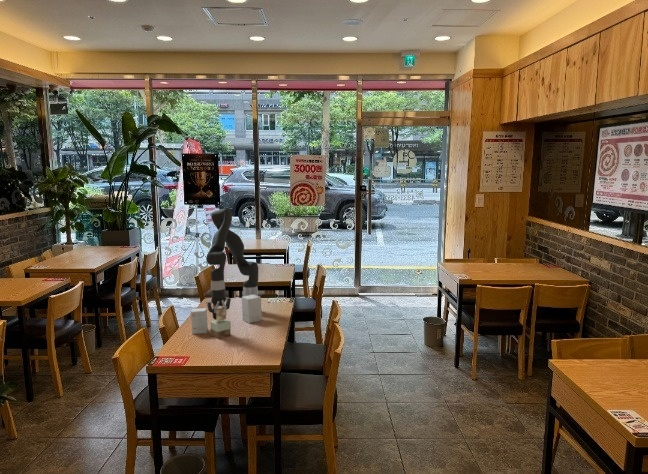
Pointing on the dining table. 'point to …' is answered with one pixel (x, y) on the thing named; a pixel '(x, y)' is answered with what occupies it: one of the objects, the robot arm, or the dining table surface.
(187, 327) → the dining table surface
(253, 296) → the supplement box
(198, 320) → the small box
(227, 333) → the walnut slab
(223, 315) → the maple block
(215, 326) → the sage slab
